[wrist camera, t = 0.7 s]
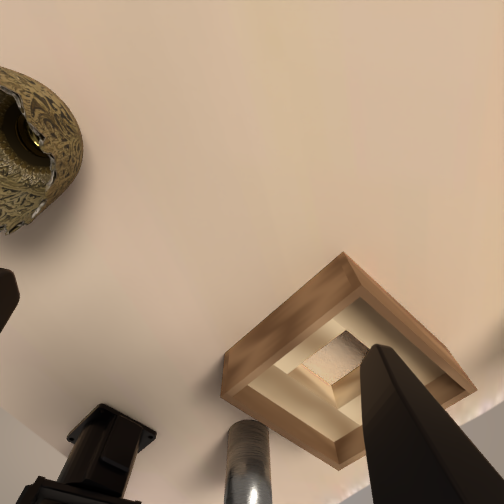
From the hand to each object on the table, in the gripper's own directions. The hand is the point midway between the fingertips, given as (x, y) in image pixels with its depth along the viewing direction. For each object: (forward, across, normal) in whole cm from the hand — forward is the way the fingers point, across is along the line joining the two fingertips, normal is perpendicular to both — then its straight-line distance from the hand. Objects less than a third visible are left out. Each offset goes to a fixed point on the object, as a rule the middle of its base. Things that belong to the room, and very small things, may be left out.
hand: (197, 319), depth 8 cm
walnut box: (+13, -11, +15) cm, 23 cm away
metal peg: (+11, -6, +27) cm, 30 cm away
